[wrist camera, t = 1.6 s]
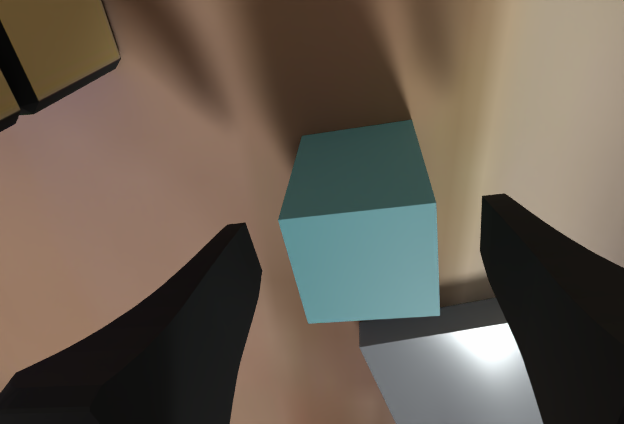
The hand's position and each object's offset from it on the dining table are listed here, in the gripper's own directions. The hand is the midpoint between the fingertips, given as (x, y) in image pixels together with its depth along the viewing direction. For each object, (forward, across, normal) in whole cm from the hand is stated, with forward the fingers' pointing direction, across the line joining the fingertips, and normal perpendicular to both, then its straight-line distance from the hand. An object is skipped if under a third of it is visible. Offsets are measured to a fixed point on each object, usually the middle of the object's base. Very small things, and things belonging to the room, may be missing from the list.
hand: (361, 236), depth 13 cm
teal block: (+4, 0, 0) cm, 4 cm away
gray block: (+4, -4, +12) cm, 14 cm away
